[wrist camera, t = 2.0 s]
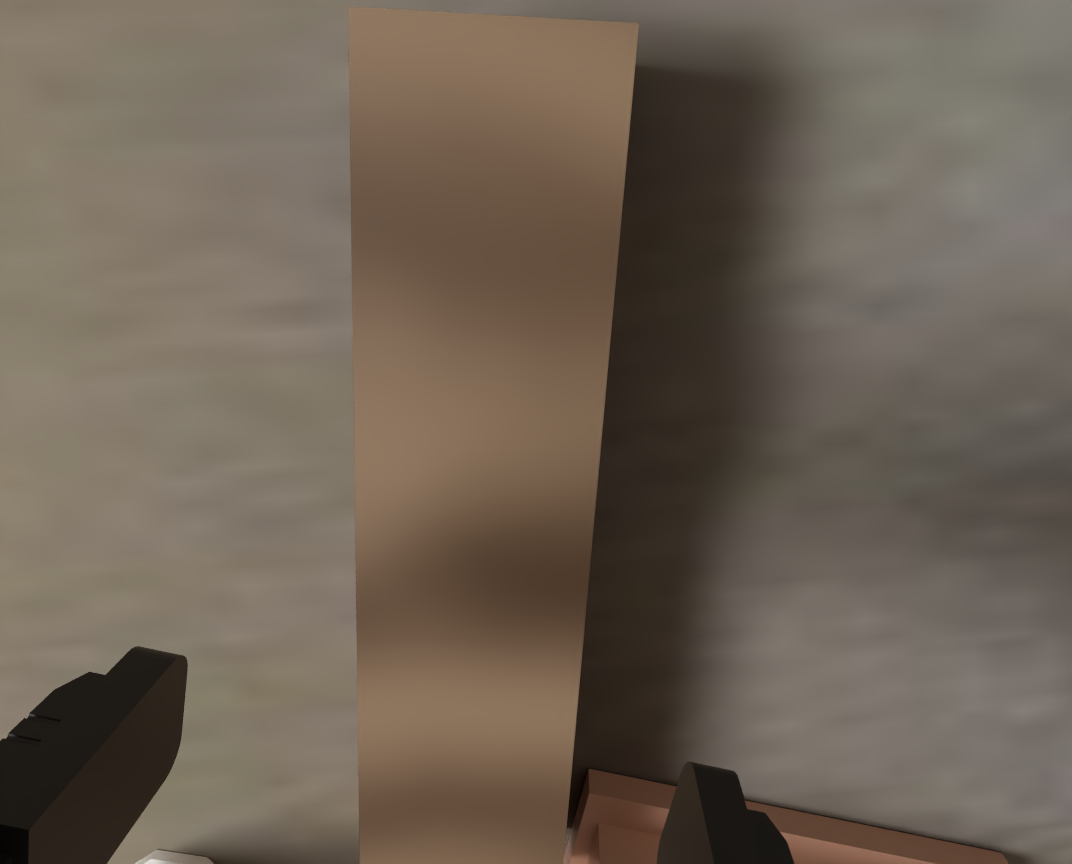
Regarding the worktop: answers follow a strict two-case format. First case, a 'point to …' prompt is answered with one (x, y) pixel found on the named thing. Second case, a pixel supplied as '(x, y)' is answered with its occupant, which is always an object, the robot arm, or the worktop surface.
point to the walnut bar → (478, 414)
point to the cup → (173, 858)
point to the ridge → (814, 841)
